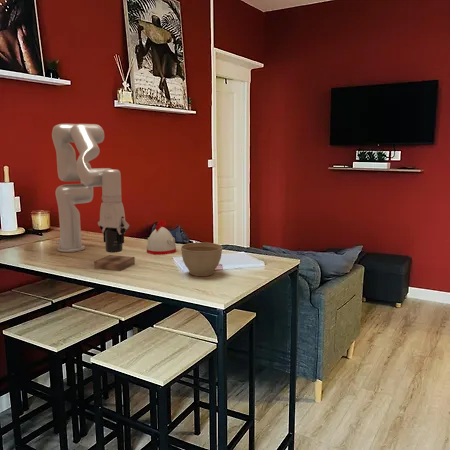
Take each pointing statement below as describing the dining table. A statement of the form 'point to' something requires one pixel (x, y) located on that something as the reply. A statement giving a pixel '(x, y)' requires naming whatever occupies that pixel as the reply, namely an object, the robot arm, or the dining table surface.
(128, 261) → the base block
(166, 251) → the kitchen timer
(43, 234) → the dining table surface
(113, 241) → the supplement bottle
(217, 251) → the planter bowl
